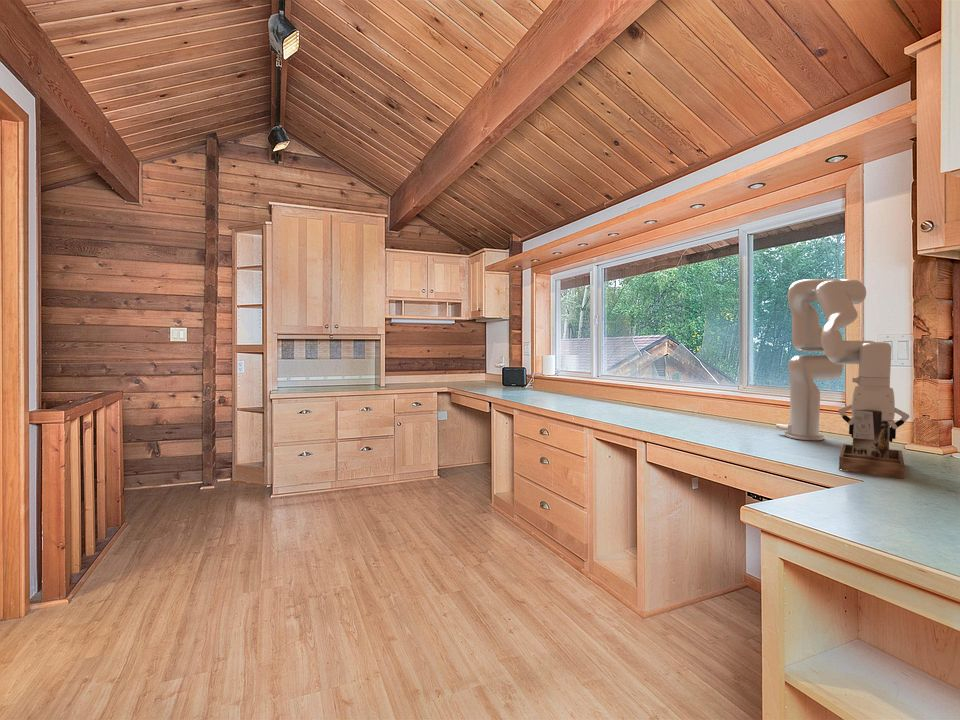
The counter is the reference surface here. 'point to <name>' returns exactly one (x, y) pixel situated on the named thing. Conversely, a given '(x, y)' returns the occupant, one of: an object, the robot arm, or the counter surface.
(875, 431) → the coffee box
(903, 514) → the counter surface
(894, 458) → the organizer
